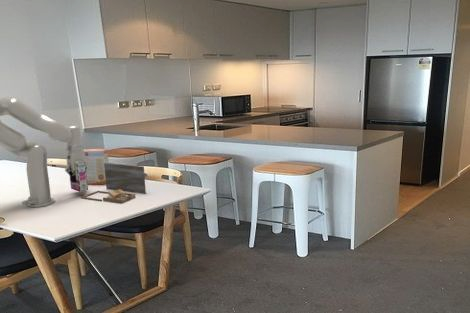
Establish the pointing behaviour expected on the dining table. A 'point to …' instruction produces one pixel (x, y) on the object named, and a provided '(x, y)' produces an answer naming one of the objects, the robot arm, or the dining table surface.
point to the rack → (122, 181)
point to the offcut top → (117, 194)
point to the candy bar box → (80, 177)
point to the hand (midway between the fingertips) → (78, 180)
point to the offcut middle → (118, 198)
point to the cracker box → (96, 166)
